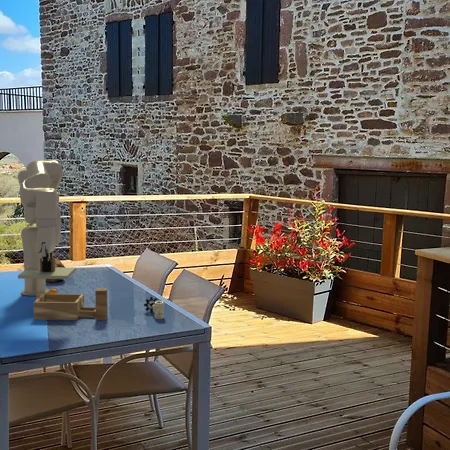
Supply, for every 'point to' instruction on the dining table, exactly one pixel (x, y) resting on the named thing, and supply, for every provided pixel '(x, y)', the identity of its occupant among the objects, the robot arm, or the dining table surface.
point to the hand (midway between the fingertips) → (47, 270)
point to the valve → (155, 307)
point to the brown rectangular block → (101, 304)
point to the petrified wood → (57, 264)
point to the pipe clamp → (51, 291)
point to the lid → (53, 274)
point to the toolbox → (62, 307)
